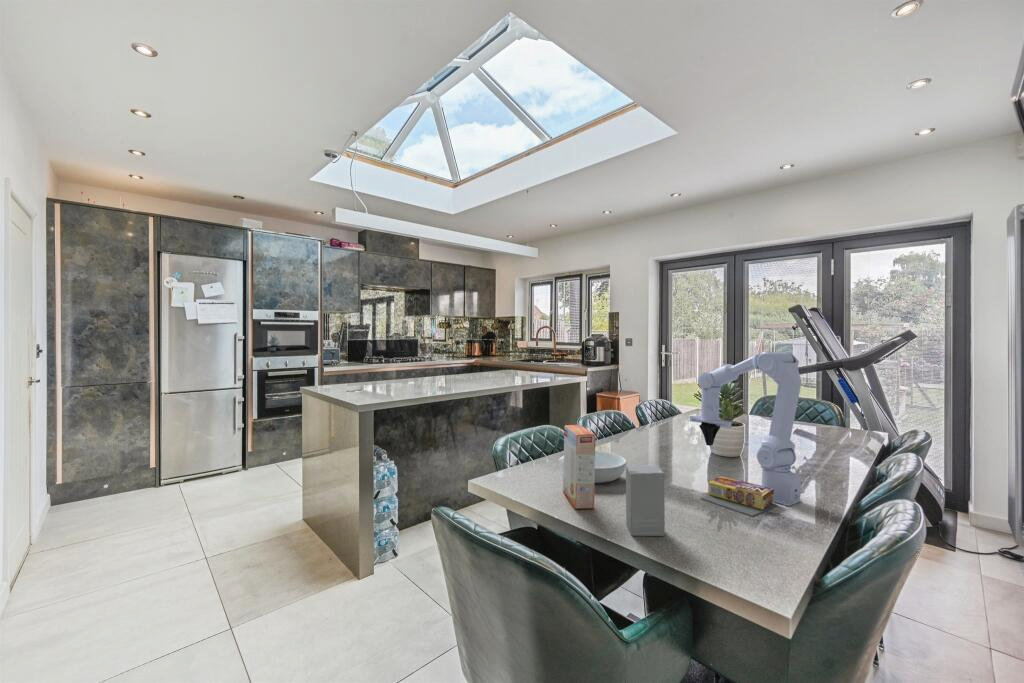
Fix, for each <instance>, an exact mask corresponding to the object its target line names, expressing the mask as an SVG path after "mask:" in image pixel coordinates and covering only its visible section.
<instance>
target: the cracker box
mask: <svg viewBox="0 0 1024 683" xmlns="http://www.w3.org/2000/svg"><path fill="white" fill-rule="evenodd" d="M563 429H564V431H563V435H564V436H563V438H564V439H563V457H564V461H563V474H562V476H563V478H562V479H563V480H562V492H563V494H564V495H565V496H566V498H567V500H568V501H569V503H570V504H571V505H572V506H573V509H575V510H585V509H588V510H589V509H590V510H591V509H595V483H594V481H595V451H596V434H595V433H593V432H592V431H591V430H589V429H588V428H586V427H585V426H584V425H580V424H566V425H564V428H563Z"/></svg>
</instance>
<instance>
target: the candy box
mask: <svg viewBox="0 0 1024 683" xmlns="http://www.w3.org/2000/svg"><path fill="white" fill-rule="evenodd" d="M707 484H708V486H707V488H708V490H707V491H708V493H707V496H709V495H712V496H715V497H719V498H722V499H726V500H729V501H733V502H737V503H740V504H744V505H747V506H751V507H754V508H758V509H762V510H763V509H764V508H766V507H767V506H769V505H770V504H771V503H773V504H774V503H775V502H774V489H772V488H768V487H764V486H762V485H758V484H755V483H751V482H750V483H749V482H746V481H742V480H738V479H734V478H729V477H725V476H718V477H717V478H714V479H712V480H710V481H708V483H707Z"/></svg>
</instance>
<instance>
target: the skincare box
mask: <svg viewBox="0 0 1024 683" xmlns="http://www.w3.org/2000/svg"><path fill="white" fill-rule="evenodd" d="M665 475H666V473H665V472H664V471H663V469H661V468H660V466H659V465H658V464H639V465H638V464H626V467H625V520H626V522H625V524H626V527H627V530H628V531H629V533H630V536H632V537H647V536H648V537H665V532H666V529H665V525H666V524H665V520H666V519H665V516H666V515H665V508H666V507H665V478H666V477H665Z"/></svg>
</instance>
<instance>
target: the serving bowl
mask: <svg viewBox="0 0 1024 683" xmlns="http://www.w3.org/2000/svg"><path fill="white" fill-rule="evenodd" d="M562 458H563V459H562V460H563V462H564V456H563V457H562ZM626 465H627V460H626V458H624V457H623V456H621V455H619V454H616V453H612V452H609V451H608V452H607V451H601V450H600V451H599V450H595V481H594V484H601V483H608V482H611V481H612V482H613V481H615V480H617V479H619V478H620V477H621V476H623V474H624V471H626Z"/></svg>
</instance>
